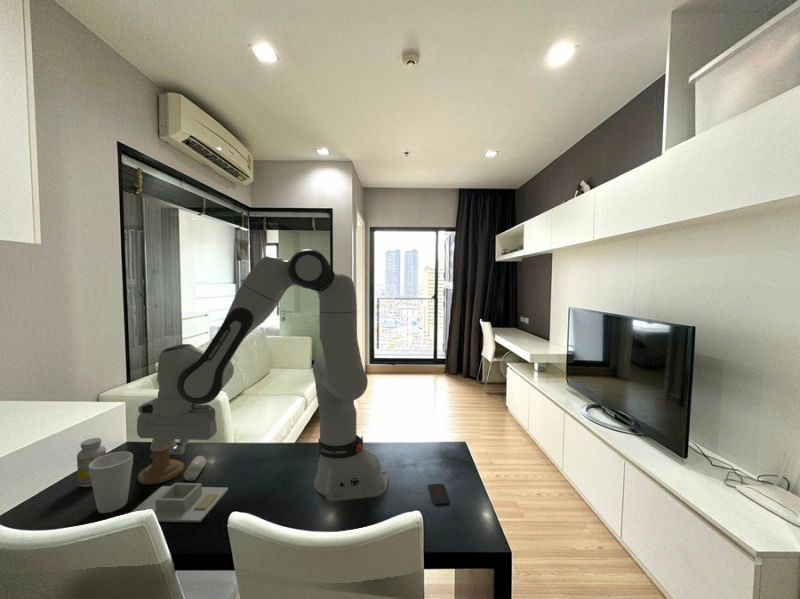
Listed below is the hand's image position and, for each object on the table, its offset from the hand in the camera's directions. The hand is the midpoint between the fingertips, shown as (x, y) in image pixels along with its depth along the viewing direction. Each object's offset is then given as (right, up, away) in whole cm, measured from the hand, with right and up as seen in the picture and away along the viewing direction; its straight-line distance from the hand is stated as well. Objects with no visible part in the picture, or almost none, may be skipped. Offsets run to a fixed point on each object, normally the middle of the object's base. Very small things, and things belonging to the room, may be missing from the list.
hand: (177, 453), depth 95 cm
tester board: (0, -15, +1) cm, 15 cm away
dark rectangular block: (+72, -16, +3) cm, 74 cm away
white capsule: (-4, -12, +13) cm, 18 cm away
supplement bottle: (-34, -14, +12) cm, 38 cm away
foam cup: (-18, -15, 0) cm, 24 cm away
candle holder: (-16, -14, +16) cm, 27 cm away
